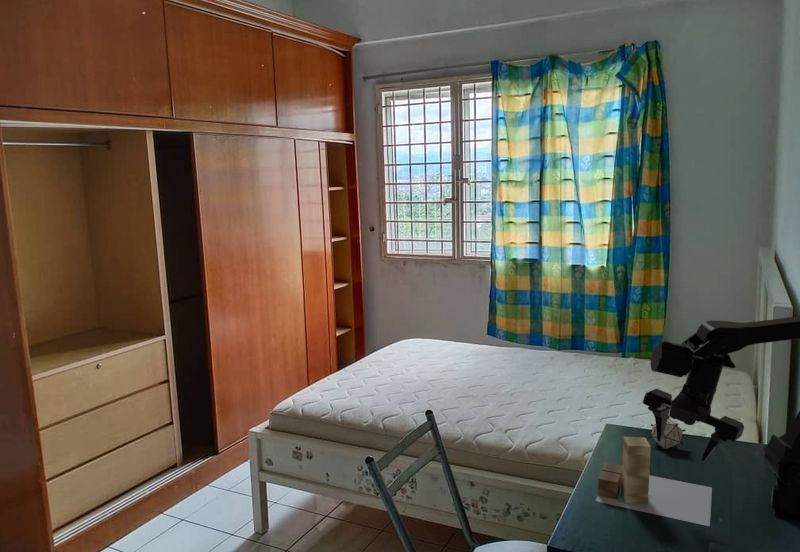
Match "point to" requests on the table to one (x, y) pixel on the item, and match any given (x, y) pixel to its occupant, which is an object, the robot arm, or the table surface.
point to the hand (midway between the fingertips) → (680, 450)
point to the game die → (668, 435)
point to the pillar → (635, 470)
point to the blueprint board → (672, 500)
